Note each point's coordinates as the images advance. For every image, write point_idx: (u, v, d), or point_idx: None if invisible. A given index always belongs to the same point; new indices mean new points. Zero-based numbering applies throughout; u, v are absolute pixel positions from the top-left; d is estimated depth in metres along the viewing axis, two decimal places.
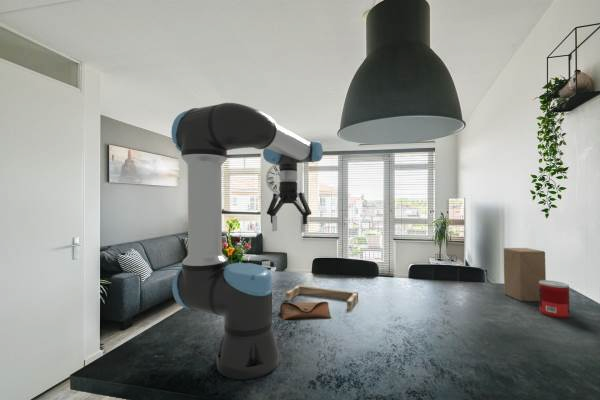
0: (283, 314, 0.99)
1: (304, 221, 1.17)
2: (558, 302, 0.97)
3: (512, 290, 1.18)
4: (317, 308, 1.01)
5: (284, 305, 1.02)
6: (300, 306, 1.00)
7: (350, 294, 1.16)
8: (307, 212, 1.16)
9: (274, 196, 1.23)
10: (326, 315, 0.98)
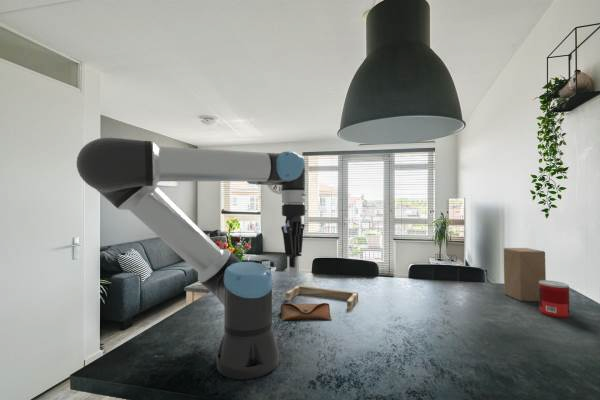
0: (282, 315, 0.98)
1: None
2: (558, 302, 0.97)
3: (512, 290, 1.18)
4: (317, 309, 0.99)
5: (284, 306, 1.02)
6: (300, 307, 0.99)
7: (350, 294, 1.16)
8: None
9: None
10: (326, 317, 0.96)
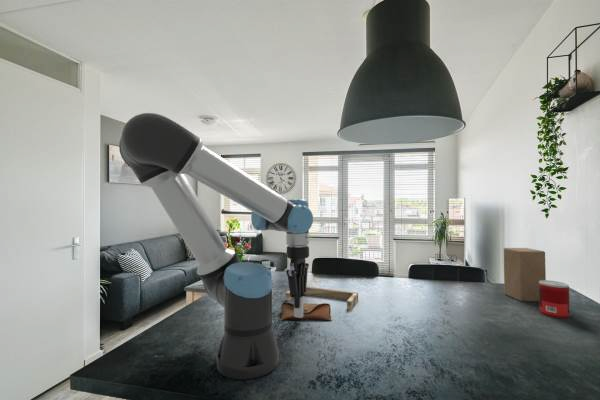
0: (282, 314, 0.98)
1: None
2: (558, 302, 0.97)
3: (512, 290, 1.18)
4: (317, 309, 0.99)
5: (285, 305, 1.02)
6: None
7: (350, 294, 1.16)
8: None
9: None
10: (325, 317, 0.96)
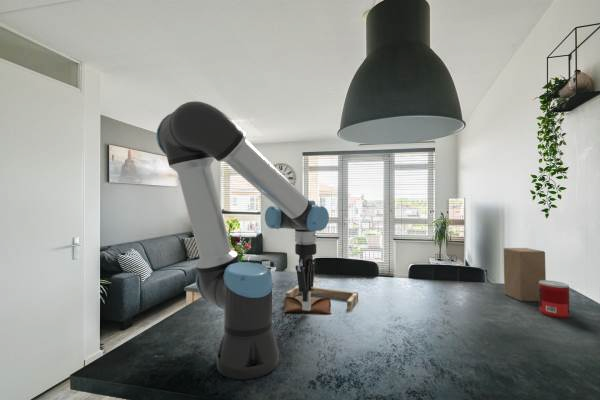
0: (285, 307, 1.05)
1: None
2: (558, 302, 0.97)
3: (512, 290, 1.18)
4: (318, 303, 1.05)
5: (287, 299, 1.08)
6: (301, 301, 1.06)
7: (350, 294, 1.16)
8: None
9: None
10: (325, 311, 1.02)
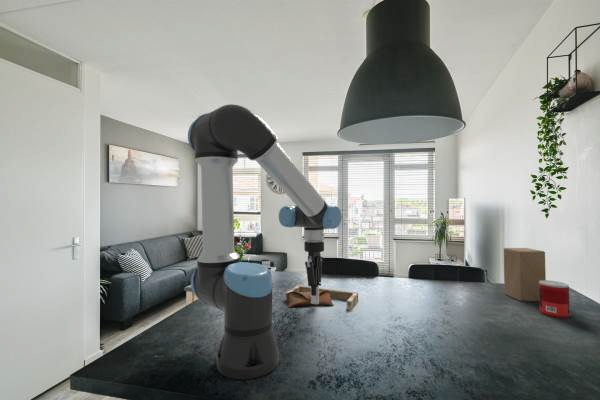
0: (290, 302, 1.10)
1: None
2: (558, 302, 0.97)
3: (512, 290, 1.18)
4: (320, 296, 1.13)
5: (290, 294, 1.14)
6: (305, 295, 1.12)
7: (350, 294, 1.16)
8: None
9: None
10: (328, 302, 1.10)
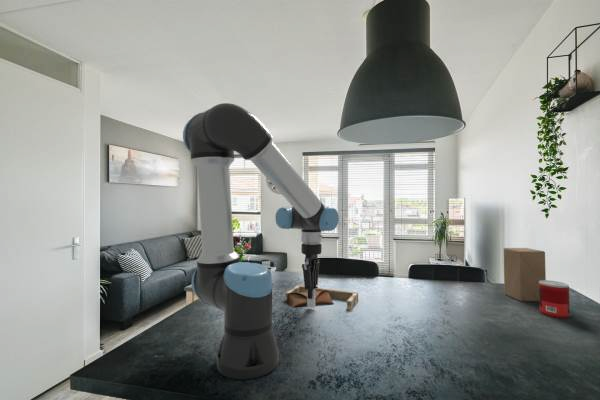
0: (292, 302, 1.10)
1: None
2: (558, 302, 0.97)
3: (512, 290, 1.18)
4: (321, 296, 1.14)
5: (291, 295, 1.14)
6: (306, 295, 1.13)
7: (350, 294, 1.16)
8: None
9: None
10: (329, 301, 1.12)
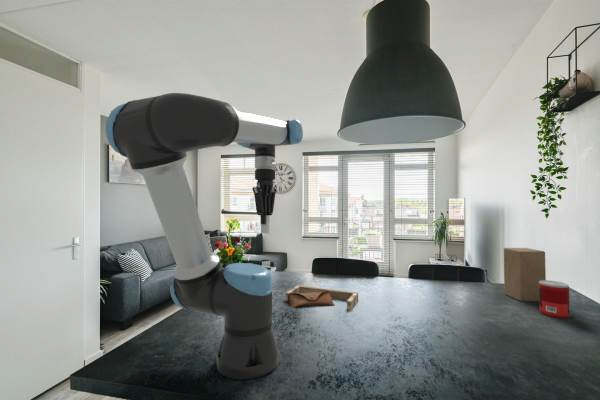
0: (292, 303, 1.10)
1: None
2: (558, 302, 0.97)
3: (512, 290, 1.18)
4: (321, 296, 1.13)
5: (291, 295, 1.13)
6: (306, 295, 1.12)
7: (350, 294, 1.16)
8: None
9: None
10: (330, 303, 1.11)
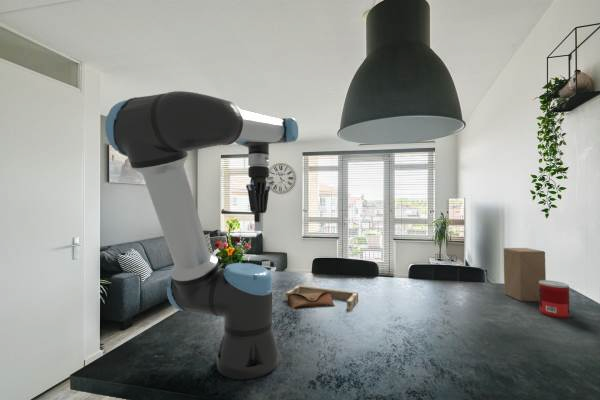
0: (292, 303, 1.09)
1: None
2: (558, 302, 0.97)
3: (512, 290, 1.18)
4: (322, 297, 1.12)
5: (292, 296, 1.13)
6: (306, 296, 1.11)
7: (350, 294, 1.16)
8: None
9: None
10: (330, 303, 1.10)
